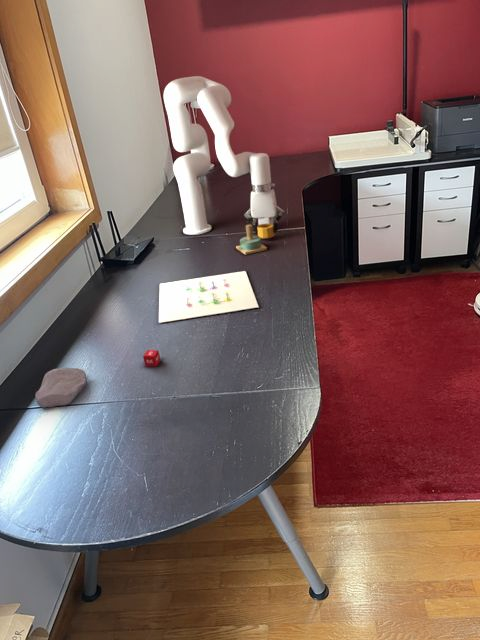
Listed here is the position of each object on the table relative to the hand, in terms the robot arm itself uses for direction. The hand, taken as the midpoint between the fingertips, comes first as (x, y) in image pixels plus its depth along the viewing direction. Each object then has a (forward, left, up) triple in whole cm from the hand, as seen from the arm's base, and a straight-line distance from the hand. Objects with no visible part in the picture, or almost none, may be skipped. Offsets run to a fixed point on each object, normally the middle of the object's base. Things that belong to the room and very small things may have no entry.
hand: (266, 232), depth 204 cm
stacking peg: (+7, -10, -3) cm, 13 cm away
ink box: (-12, +6, -3) cm, 14 cm away
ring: (0, 0, -1) cm, 1 cm away
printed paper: (+37, -40, -3) cm, 55 cm away
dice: (+68, -66, -3) cm, 95 cm away
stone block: (+69, -88, -3) cm, 112 cm away
